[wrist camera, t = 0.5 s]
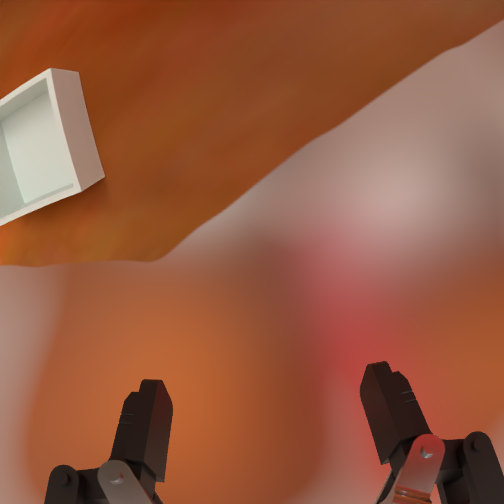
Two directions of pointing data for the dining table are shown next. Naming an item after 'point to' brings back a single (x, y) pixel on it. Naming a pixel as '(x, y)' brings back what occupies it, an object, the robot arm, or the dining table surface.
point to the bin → (45, 144)
